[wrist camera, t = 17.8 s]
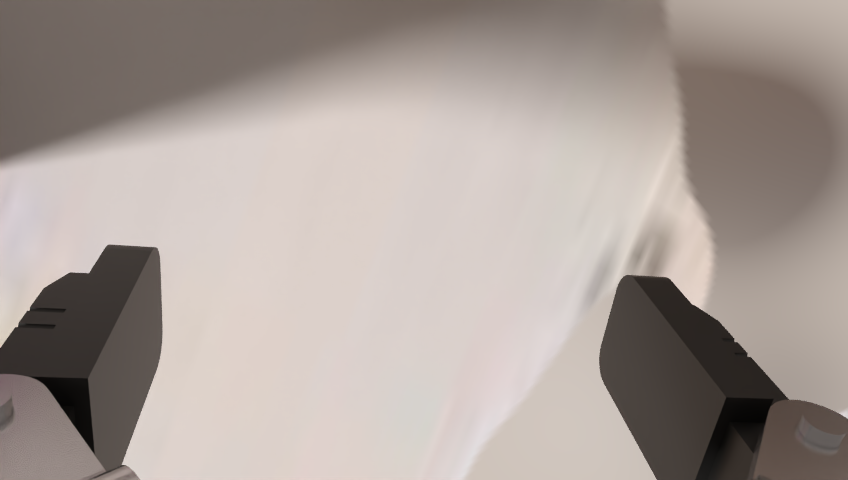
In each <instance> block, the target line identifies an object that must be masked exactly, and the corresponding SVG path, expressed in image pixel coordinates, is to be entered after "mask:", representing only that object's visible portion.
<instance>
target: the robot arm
mask: <svg viewBox="0 0 848 480" xmlns="http://www.w3.org/2000/svg"><path fill="white" fill-rule="evenodd" d="M161 346H162V302H161V272H160V256H159V251H158V249H157V248H156V247H140V246H124V245H107V246H106V248H105V249H104V251H103V252H102V254H101V255H100V257H99V259H98V260H97V262H96V263H95V265H94V266H93V268H92V269H91V271H90V273H89V274H88V273H68V274H67V275H65V276H63V277H62V278H60V279H58V280H57V281H55V282H53V283H52V284H50V285H48V286H47V287H45V288H44V289H43V290H42V292H41V293H40V294H39V296H38V297H37V298H36V300H35V301H34V303H33V304H32V305H31V307H30V311H27V312H26V314H25V315H24V316H23V318H22V319H21V320H20V322H19V325H18V327H15V329H14V330H13V331H12V333H11V334H10V336H9V337H8V338H7V340H6V341H5V342H4V344H3V345H2V347H1V348H0V480H140V479H139V478H138V476H137V475H136V474H135V473H134V471H133V470H132V469H130V468H129V467H128V466H126V465H122V462H123V459H124V457H125V454H126V451H127V448H128V446H129V443H130V440H131V438H132V435H133V432H134V429H135V427H136V424H137V421H138V419H139V416H140V413H141V411H142V408H143V405H144V402H145V400H146V397H147V394H148V392H149V389H150V386H151V383H152V381H153V378H154V375H155V373H156V370H157V367H158V363H159V359H160V354H161ZM599 364H600V373H601V377H602V380H603V382H604V384H605V386H606V388H607V390H608V391H609V393H610V395H611V397H612V399H613V401H614V402H615V404H616V406H617V408H618V410H619V412H620V413H621V415H622V417H623V419H624V421H625V422H626V424H627V426H628V428H629V430H630V431H631V433H632V435H633V436H634V439H635V441H636V442H637V444H638V446H639V448H640V450H641V451H642V453H643V455H644V457H645V459H646V461H647V462H648V464H649V466H650V468H651V470H652V471H653V473H654V475H655V477H656V479H657V480H848V419H847V418H846V417H844V416H842V415H841V414H839V413H837V412H835V411H833V410H830V409H828V408H826V407H823V406H820V405H817V404H814V403H811V402H806V401H801V400H789V399H788V398H787V397H786V396H785V395H784V394H783V392H782V391H781V390H780V389H779V388H778V387H777V386H776V385H775V384H774V382H773V381H772V380H771V379H770V378H769V377H768V376H767V375H766V374H765V372H764V371H763V370H762V369H761V368H760V367H759V366H758V365H757V363H756V362H755V361H754V360H753V359H752V358H751V357H747V352H746V351H745V350H744V349H743V348H742V347H741V346H740V345H739V344H738V343H737V342H734V338H733V337H732V336H731V335H730V333H728V331H727V330H726V329H725V328H724V327H723V326H722V324H721V323H720V322H719V321H718V320H716V319H714V318H713V317H711V316H710V315H708V314H707V313H705V312H704V311H702V310H701V309H699V308H698V307H696V306H695V305H692V304H691V303H690V302H689V301H688V299H687V298H686V297H685V296H684V295H683V294H682V293H681V291H680V290H679V289H678V288H677V287H676V286H675V284H674V283H673V282H672V281H671V280H670V279H669V278H667V277H653V276H636V275H626V276H624V277H623V278H622V279H621V281H620V282H619V284H618V287H617V290H616V294H615V297H614V301H613V305H612V309H611V312H610V315H609V319H608V323H607V327H606V330H605V334H604V337H603V341H602V344H601V349H600V357H599Z"/></svg>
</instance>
